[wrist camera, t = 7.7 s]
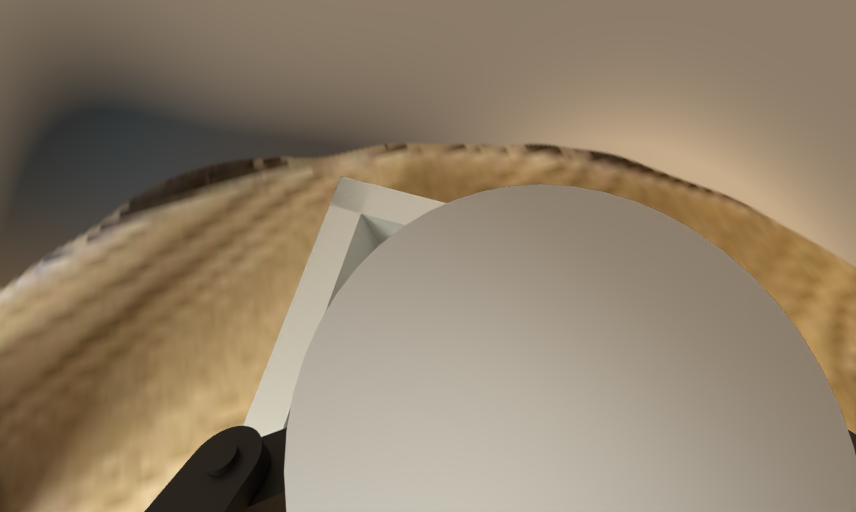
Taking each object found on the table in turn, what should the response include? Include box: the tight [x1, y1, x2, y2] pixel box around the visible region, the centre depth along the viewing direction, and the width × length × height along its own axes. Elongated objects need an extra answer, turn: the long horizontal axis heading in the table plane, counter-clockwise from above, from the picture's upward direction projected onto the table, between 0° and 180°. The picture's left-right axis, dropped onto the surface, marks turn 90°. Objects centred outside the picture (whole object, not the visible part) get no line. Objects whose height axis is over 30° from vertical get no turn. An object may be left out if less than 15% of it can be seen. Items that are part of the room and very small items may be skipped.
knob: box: [284, 184, 856, 512], centre depth 9 cm, size 5×5×12 cm
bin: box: [243, 176, 446, 437], centre depth 16 cm, size 16×14×6 cm
